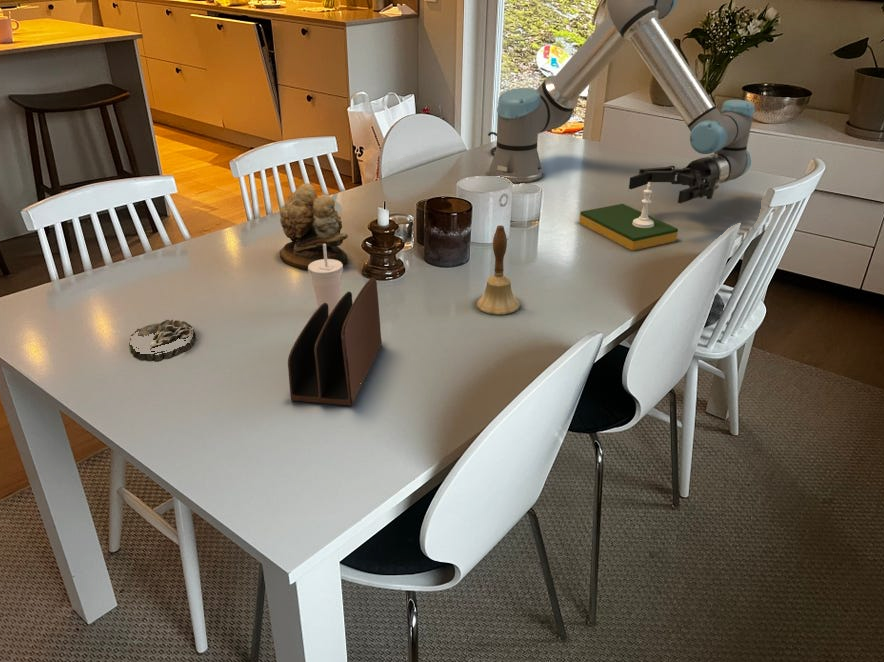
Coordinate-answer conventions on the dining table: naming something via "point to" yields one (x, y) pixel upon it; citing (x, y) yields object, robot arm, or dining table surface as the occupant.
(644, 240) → the sponge pad
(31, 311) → the dining table surface
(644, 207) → the chess piece
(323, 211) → the owl figurine
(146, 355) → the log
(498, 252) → the hand bell
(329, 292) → the smoothie
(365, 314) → the letter holder
